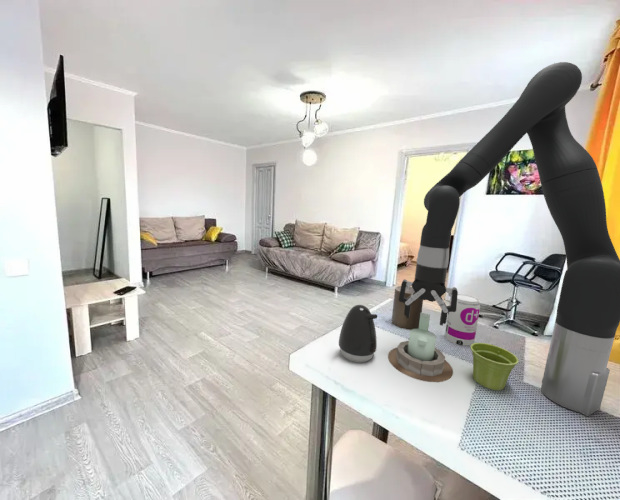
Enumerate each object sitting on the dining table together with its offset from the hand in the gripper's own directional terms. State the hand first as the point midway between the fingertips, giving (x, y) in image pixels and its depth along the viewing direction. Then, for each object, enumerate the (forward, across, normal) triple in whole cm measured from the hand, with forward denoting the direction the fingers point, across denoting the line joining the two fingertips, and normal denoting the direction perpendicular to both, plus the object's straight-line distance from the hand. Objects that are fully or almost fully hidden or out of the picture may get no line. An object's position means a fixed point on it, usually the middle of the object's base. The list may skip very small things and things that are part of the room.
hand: (423, 320), depth 74 cm
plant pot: (+11, -16, +5) cm, 20 cm away
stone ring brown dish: (+11, 0, +5) cm, 12 cm away
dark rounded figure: (+11, +16, +9) cm, 21 cm away
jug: (+10, 0, +5) cm, 11 cm away
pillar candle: (+11, +6, -20) cm, 23 cm away
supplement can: (+11, -11, -16) cm, 23 cm away
